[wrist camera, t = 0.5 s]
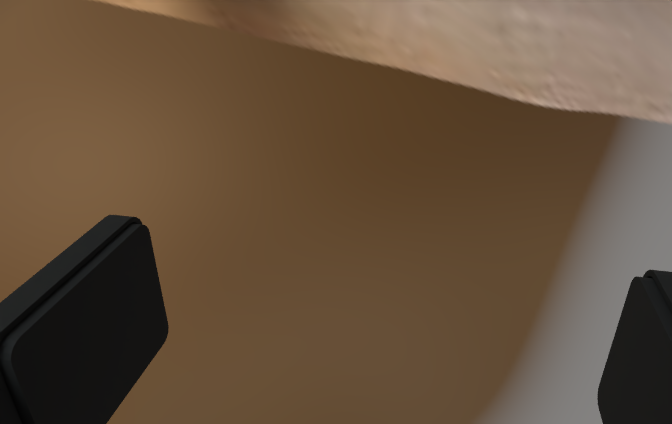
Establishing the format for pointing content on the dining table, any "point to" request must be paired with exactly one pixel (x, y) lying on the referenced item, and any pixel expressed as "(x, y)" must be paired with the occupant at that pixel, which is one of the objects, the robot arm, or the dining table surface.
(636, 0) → the dining table surface
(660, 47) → the dining table surface
